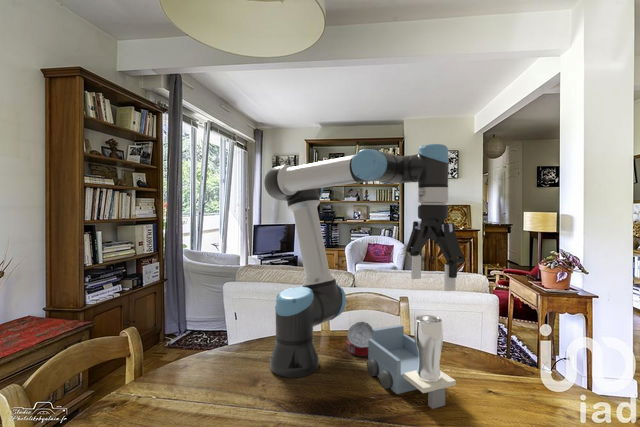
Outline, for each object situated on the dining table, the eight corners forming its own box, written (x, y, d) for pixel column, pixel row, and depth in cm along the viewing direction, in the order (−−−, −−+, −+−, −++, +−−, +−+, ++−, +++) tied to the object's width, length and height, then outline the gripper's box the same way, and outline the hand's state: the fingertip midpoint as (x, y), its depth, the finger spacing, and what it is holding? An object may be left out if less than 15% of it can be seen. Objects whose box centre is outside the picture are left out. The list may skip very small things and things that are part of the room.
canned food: (373, 360, 117) (387, 338, 114) (358, 368, 109) (372, 344, 107) (351, 337, 124) (363, 316, 121) (335, 343, 116) (347, 321, 113)
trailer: (363, 369, 101) (363, 330, 101) (407, 360, 107) (408, 323, 107) (411, 414, 79) (412, 365, 79) (463, 400, 85) (464, 354, 85)
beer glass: (445, 385, 81) (445, 324, 81) (415, 382, 83) (415, 322, 82) (440, 371, 88) (440, 315, 88) (413, 369, 89) (413, 313, 89)
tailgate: (403, 373, 87) (423, 388, 80) (433, 366, 91) (455, 380, 83) (403, 378, 87) (423, 394, 80) (433, 371, 91) (455, 386, 84)
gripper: (394, 204, 98) (393, 275, 98) (455, 204, 74) (454, 297, 75) (415, 204, 100) (415, 273, 101) (481, 204, 77) (480, 294, 77)
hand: (431, 284), depth 88 cm, fingers open, 13 cm apart
